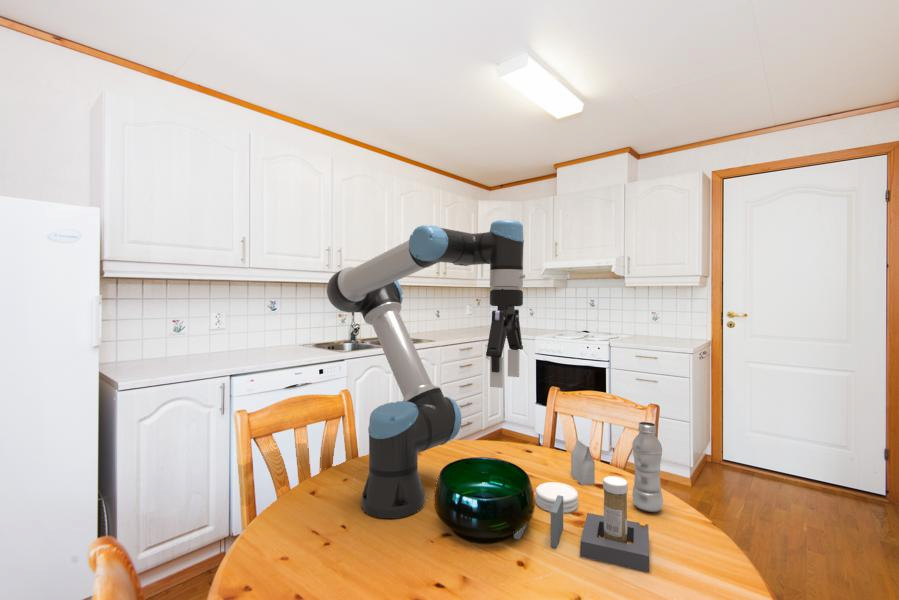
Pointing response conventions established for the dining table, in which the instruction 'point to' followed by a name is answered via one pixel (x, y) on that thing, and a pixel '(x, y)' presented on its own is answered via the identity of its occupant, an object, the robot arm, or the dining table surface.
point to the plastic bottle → (647, 469)
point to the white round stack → (549, 493)
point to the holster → (555, 523)
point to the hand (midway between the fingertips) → (505, 381)
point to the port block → (616, 544)
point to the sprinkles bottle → (615, 508)
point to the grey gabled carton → (582, 464)
